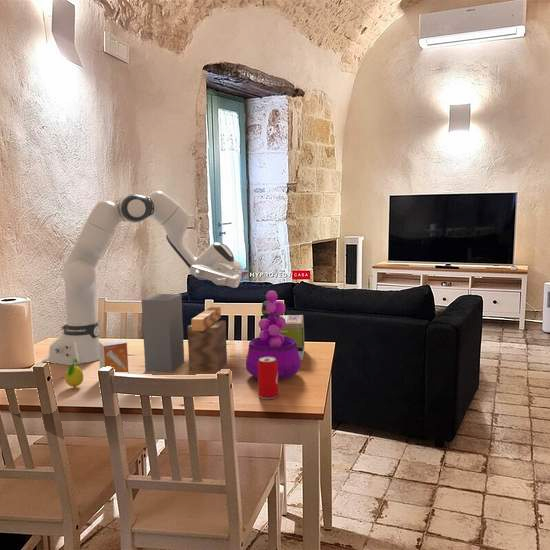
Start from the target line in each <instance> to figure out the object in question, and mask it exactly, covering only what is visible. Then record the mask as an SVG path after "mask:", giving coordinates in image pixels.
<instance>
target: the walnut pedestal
mask: <svg viewBox="0 0 550 550" xmlns="http://www.w3.org/2000/svg"><path fill="white" fill-rule="evenodd" d="M226 321H227V320H217V321H216V322H214V323H213V324H211V325H210V326H209V327H207V328H206V329H205V330H203V331H192V323H191V324H189V325H188V326H187V345H188V347H187V349H188V350H187V351H188V371H193V370H195V371H194V372H197V371H199V372H220V371H221V370H222V368H224V366H225V365H226V364H227V363H228V357H227V356H228V352H227V351H228V349H227V322H226ZM220 369H221V370H220ZM219 370H220V371H219Z"/></svg>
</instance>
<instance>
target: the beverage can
mask: <svg viewBox="0 0 550 550" xmlns="http://www.w3.org/2000/svg"><path fill="white" fill-rule="evenodd" d="M257 366H258V377H257V388H258V389H257V391H258V392H257V393H258V396H259V397H260V398H261V399H263V400H272V399H276V398H277V397H278V396H279V394H280V393H279V380H278V363H277V361H276V358H275V357H261V358H259V362H258V364H257Z"/></svg>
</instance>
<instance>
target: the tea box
mask: <svg viewBox="0 0 550 550" xmlns="http://www.w3.org/2000/svg"><path fill="white" fill-rule="evenodd" d="M279 317H283V318H284V319H285V321H286V324H285V326H283V328H280V332H279V334H281V335H283V336H285V337H290V338H293V339H295V340H296V343H297V349H298V353H299V357H300V361H303V360H304V355H305V323H304V322H305V321H304V319H305V318H304V315H303V314H294V315H293V314H287V315H285V314H284V315H280V316H279Z"/></svg>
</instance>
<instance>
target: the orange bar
mask: <svg viewBox="0 0 550 550" xmlns="http://www.w3.org/2000/svg"><path fill="white" fill-rule="evenodd" d="M221 311H222V309H221V307H220V306H218V307H217V306H210V307H208V308H207V309H205V310H204V311H202V312H201V313H199V314H197V315H196V316H194V317H193V318H191V319H190V320H191V321H190V322H191V324H192V331H203V330H205V329H206V328H207V327H209V326H210V325H211V324H213V323H214V322H216V321H219V319H221V317H222V312H221Z"/></svg>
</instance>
